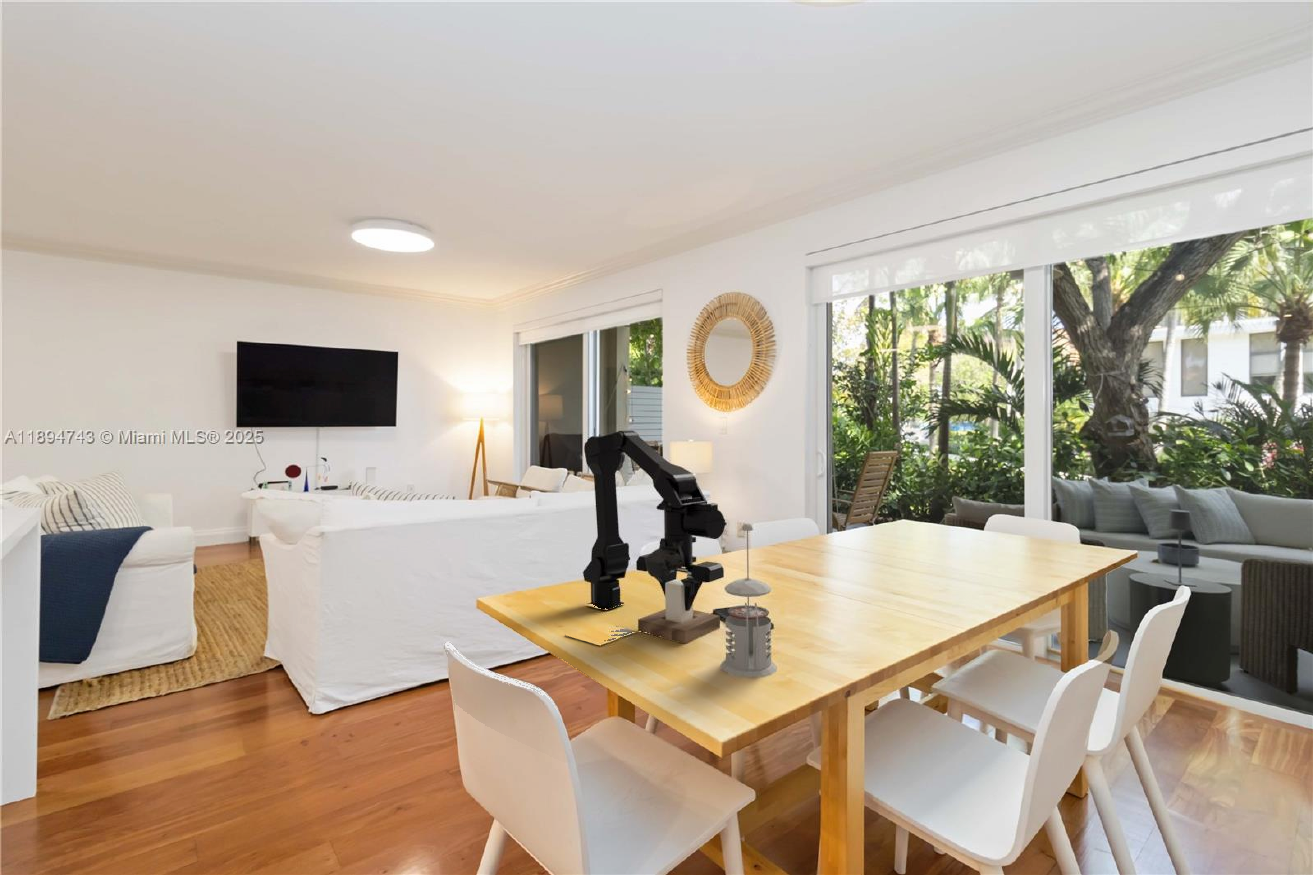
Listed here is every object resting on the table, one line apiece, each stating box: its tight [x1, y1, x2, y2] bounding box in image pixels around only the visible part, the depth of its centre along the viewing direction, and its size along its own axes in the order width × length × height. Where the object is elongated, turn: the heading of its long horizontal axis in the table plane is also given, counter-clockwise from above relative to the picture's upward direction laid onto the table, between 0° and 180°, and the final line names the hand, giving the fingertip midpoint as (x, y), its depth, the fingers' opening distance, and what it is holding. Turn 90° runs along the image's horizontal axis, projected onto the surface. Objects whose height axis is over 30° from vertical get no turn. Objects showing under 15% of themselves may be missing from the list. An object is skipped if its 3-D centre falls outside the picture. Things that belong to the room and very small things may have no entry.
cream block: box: [664, 578, 694, 623], centre depth 130 cm, size 4×4×9 cm
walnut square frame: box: [637, 608, 721, 645], centre depth 130 cm, size 12×12×2 cm
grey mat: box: [604, 625, 636, 641], centre depth 128 cm, size 10×10×1 cm
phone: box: [712, 606, 775, 631], centre depth 136 cm, size 8×1×15 cm
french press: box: [720, 523, 778, 679], centre depth 109 cm, size 10×12×25 cm
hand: (679, 608), depth 130 cm, fingers closed on cream block, 4 cm apart
